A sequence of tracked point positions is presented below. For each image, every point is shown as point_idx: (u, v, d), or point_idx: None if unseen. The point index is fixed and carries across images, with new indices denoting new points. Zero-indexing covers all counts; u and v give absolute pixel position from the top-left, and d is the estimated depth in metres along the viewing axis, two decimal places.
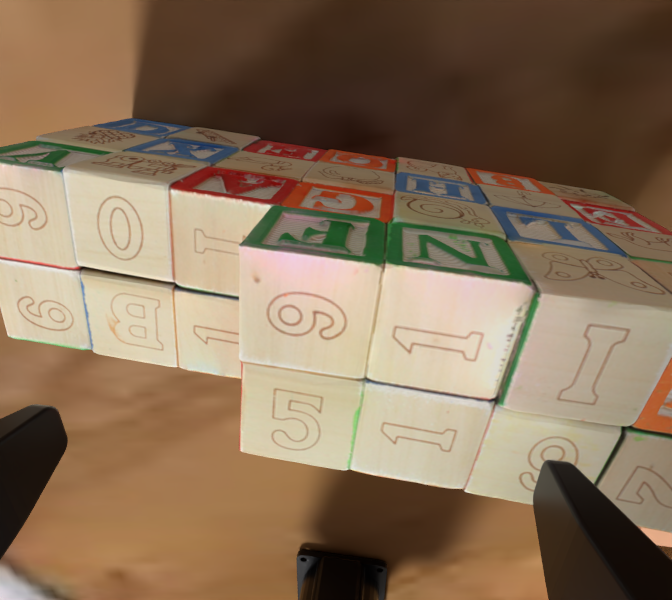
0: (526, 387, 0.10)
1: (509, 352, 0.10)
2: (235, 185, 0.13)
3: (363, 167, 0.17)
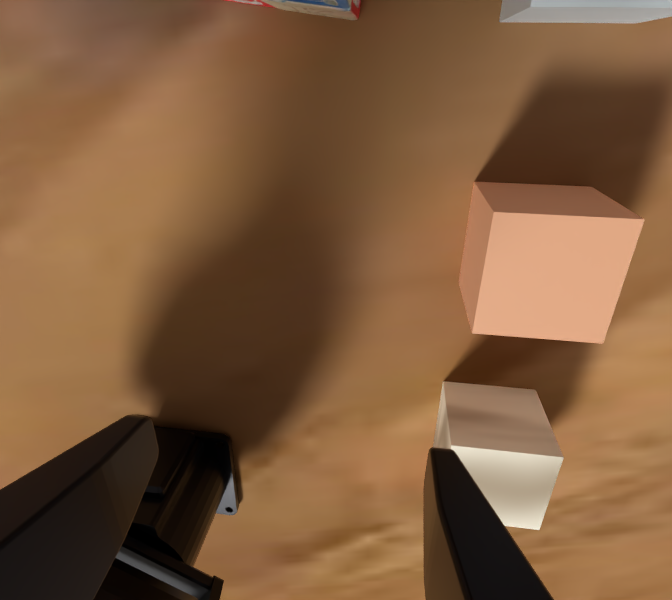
0: None
1: None
2: None
3: None
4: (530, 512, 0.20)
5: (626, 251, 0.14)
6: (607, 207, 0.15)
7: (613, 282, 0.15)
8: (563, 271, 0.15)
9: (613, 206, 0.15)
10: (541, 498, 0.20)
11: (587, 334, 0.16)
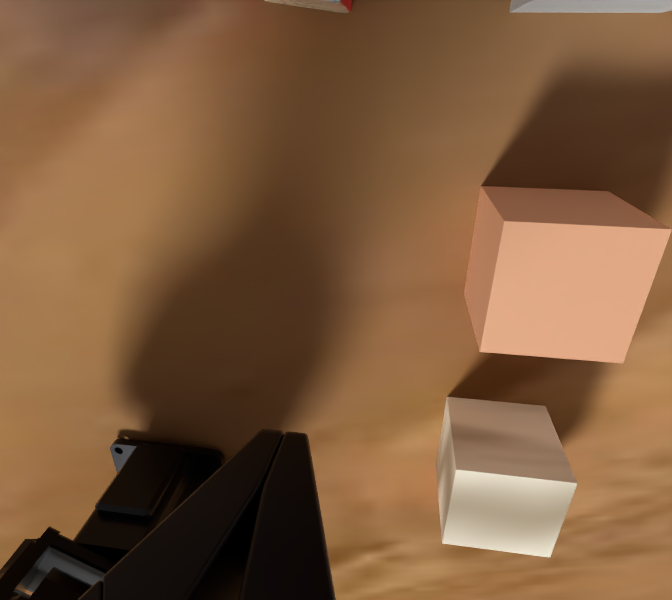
0: None
1: None
2: None
3: None
4: (541, 539, 0.19)
5: (651, 264, 0.13)
6: (629, 215, 0.14)
7: (635, 297, 0.14)
8: (580, 285, 0.14)
9: (635, 214, 0.14)
10: (552, 525, 0.18)
11: (606, 353, 0.14)
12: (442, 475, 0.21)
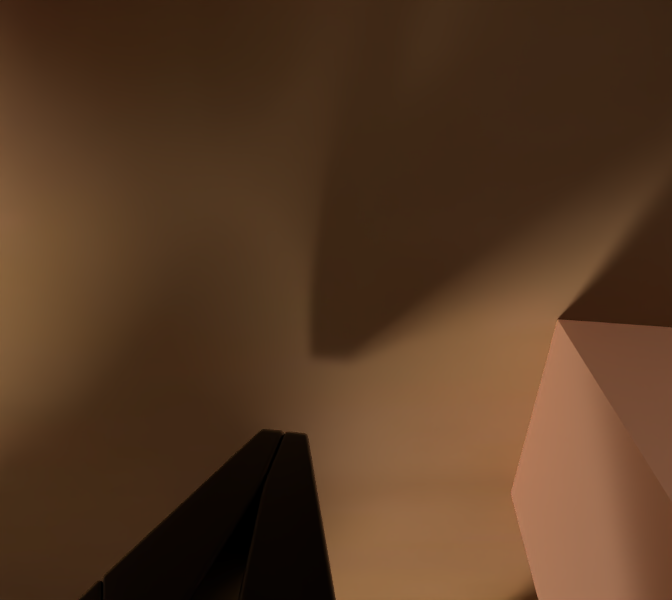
0: None
1: None
2: None
3: None
4: None
5: None
6: None
7: None
8: None
9: None
10: None
11: None
12: None
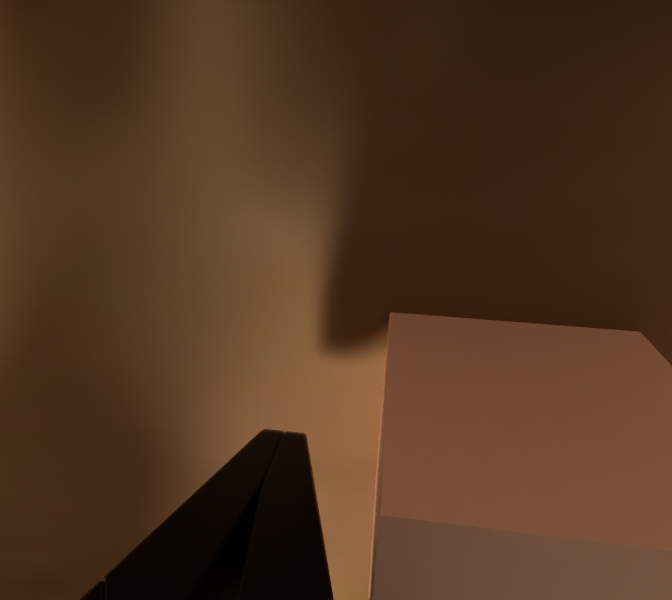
0: None
1: None
2: None
3: None
4: None
5: None
6: None
7: None
8: None
9: None
10: None
11: None
12: None
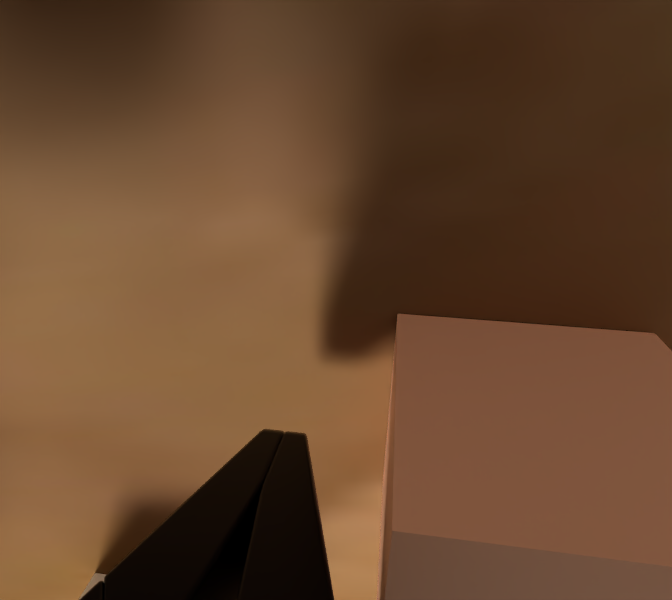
0: None
1: None
2: None
3: None
4: None
5: None
6: None
7: None
8: None
9: None
10: None
11: None
12: None
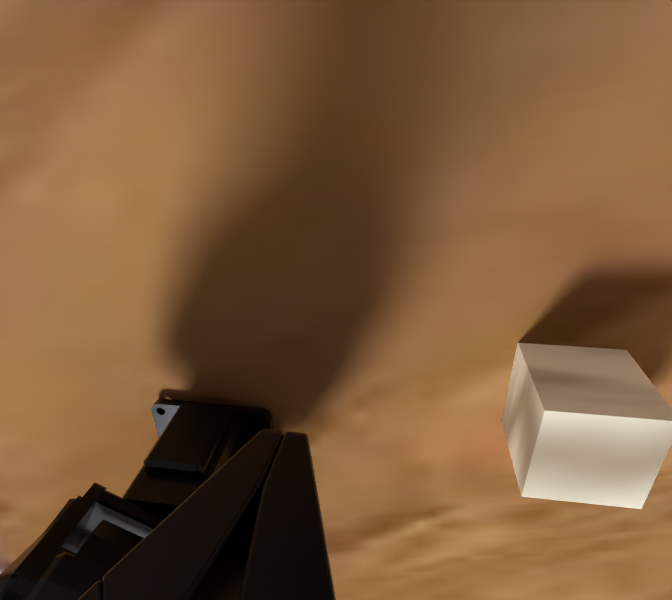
0: None
1: None
2: None
3: None
4: (633, 488, 0.17)
5: None
6: None
7: None
8: None
9: None
10: (648, 471, 0.17)
11: None
12: (515, 426, 0.20)
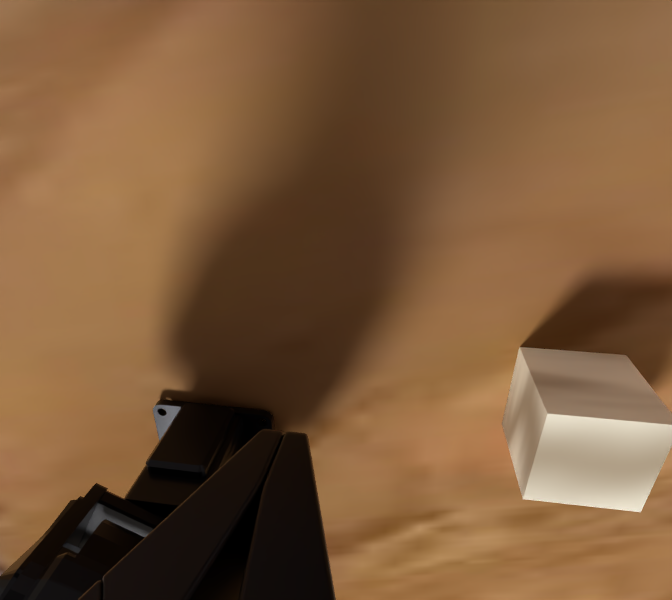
0: None
1: None
2: None
3: None
4: (633, 491, 0.17)
5: None
6: None
7: None
8: None
9: None
10: (648, 475, 0.17)
11: None
12: (517, 430, 0.20)
